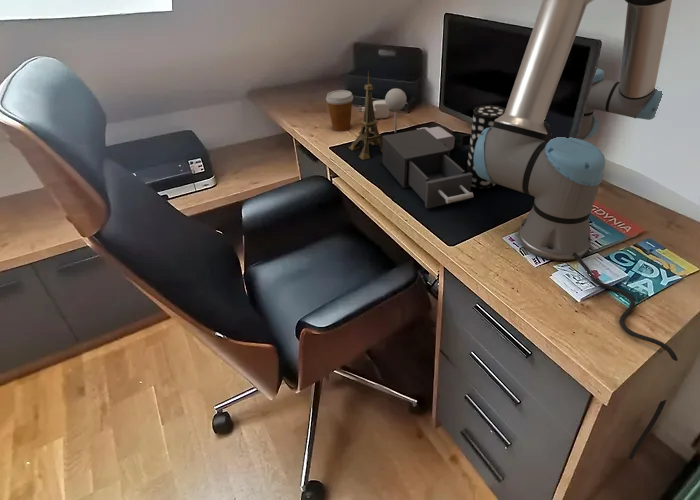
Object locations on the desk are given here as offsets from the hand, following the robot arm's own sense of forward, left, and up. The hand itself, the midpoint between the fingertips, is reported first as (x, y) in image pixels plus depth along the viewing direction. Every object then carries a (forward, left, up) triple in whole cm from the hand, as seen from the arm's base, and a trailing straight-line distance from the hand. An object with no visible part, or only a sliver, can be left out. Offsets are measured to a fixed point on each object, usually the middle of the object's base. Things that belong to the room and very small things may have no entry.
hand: (470, 147), depth 121 cm
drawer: (-3, +9, -11) cm, 15 cm away
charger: (+30, -4, -12) cm, 33 cm away
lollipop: (+43, +3, -12) cm, 45 cm away
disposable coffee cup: (+55, +19, -12) cm, 59 cm away
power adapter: (+59, +5, -12) cm, 61 cm away
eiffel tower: (+33, +16, -12) cm, 39 cm away
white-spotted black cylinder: (0, -5, -11) cm, 12 cm away
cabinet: (+14, +9, -12) cm, 21 cm away
